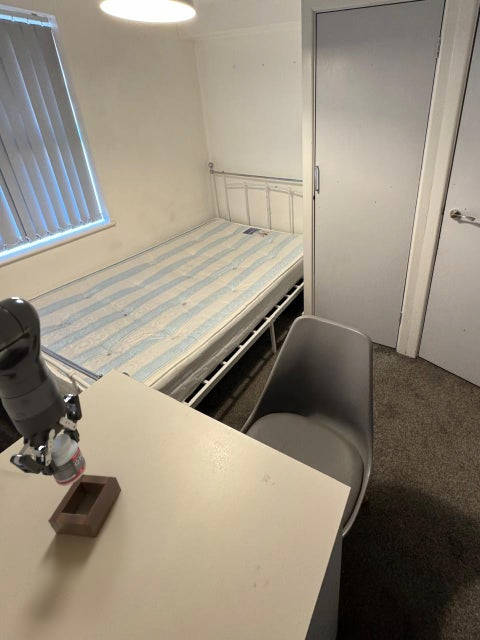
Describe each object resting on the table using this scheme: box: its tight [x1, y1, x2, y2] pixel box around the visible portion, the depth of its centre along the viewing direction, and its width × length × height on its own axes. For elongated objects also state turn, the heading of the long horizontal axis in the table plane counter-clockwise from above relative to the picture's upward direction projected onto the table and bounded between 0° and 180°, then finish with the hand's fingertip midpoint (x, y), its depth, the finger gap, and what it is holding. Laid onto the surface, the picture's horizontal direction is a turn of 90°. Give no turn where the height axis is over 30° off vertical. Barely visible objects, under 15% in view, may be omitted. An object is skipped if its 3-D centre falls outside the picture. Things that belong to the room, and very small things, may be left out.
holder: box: [48, 473, 122, 539], centre depth 72 cm, size 9×9×5 cm
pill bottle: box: [51, 433, 87, 487], centre depth 66 cm, size 5×5×10 cm
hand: (63, 456), depth 65 cm, fingers closed on pill bottle, 5 cm apart
